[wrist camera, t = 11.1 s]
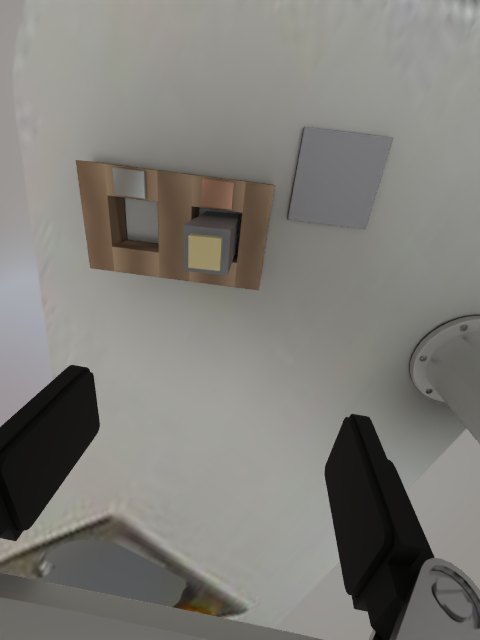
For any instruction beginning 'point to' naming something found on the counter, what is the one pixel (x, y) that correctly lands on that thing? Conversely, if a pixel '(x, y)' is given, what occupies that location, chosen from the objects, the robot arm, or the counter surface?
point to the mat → (337, 177)
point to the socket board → (170, 221)
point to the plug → (211, 242)
